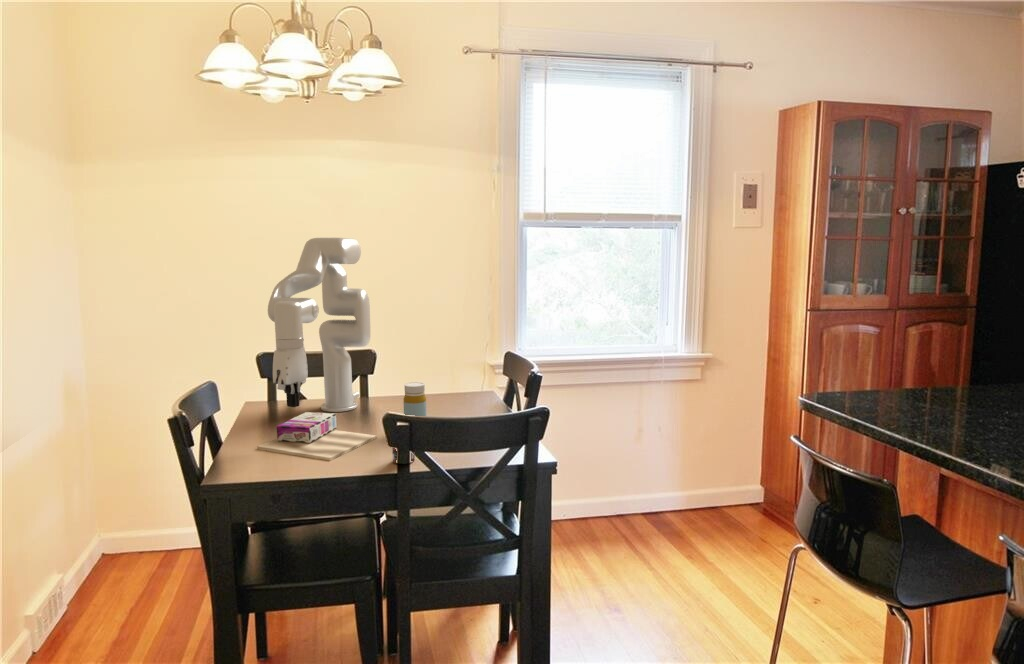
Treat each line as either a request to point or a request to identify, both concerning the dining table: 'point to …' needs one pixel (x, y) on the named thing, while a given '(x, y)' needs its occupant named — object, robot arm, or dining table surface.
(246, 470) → the dining table surface
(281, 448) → the birch board
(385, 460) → the dining table surface
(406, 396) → the bottle
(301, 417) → the candy bar box
